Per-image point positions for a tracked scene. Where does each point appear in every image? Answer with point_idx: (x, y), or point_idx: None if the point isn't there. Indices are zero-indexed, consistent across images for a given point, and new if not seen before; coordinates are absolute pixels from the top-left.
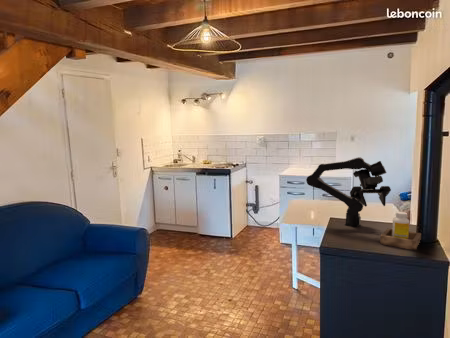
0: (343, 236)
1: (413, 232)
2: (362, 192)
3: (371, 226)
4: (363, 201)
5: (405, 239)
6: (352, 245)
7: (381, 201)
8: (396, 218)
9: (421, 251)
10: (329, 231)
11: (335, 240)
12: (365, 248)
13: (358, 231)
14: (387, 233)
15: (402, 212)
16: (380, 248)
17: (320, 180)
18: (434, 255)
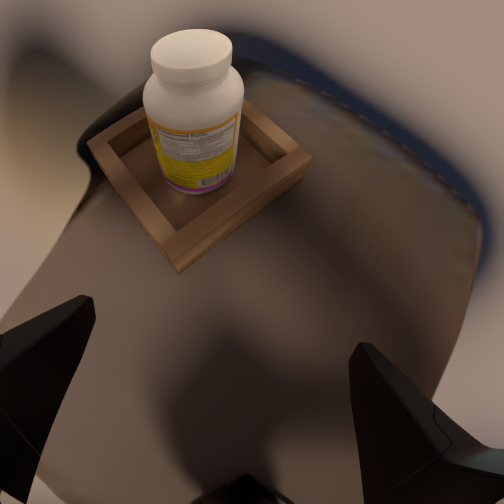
0: (408, 319)
1: (103, 158)
2: (501, 468)
3: (144, 463)
4: (407, 389)
5: None
6: (413, 202)
7: (55, 402)
8: (231, 76)
9: None
10: None
11: (450, 272)
12: (381, 162)
13: (290, 395)
14: (240, 188)
15: (175, 49)
16: (329, 143)
17: None
18: None
